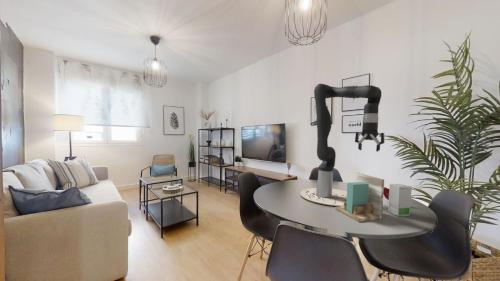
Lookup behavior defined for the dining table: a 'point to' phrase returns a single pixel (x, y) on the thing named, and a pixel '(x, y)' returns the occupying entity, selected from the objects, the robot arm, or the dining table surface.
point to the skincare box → (399, 199)
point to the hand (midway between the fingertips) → (368, 150)
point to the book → (356, 195)
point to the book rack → (374, 200)
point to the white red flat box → (387, 193)
